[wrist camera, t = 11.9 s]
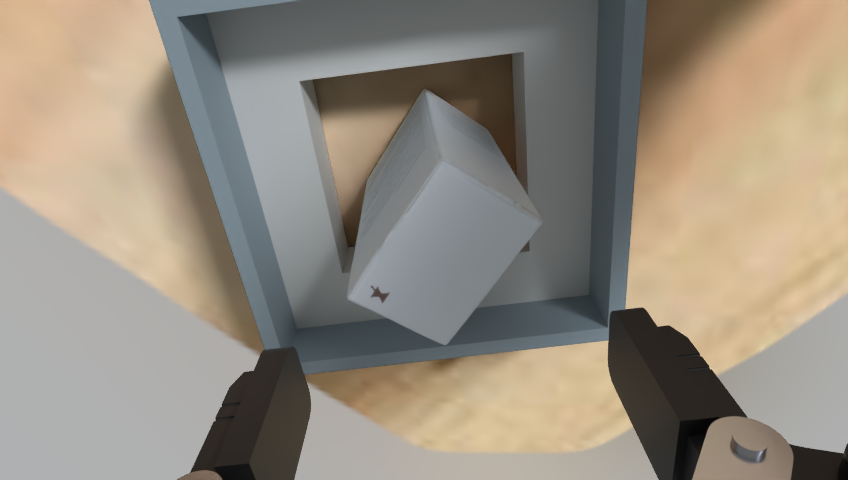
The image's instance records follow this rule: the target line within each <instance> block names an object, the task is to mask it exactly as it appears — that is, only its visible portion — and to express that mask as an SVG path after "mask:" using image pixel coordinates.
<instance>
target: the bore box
mask: <svg viewBox="0 0 848 480" xmlns="http://www.w3.org/2000/svg"><path fill="white" fill-rule="evenodd" d="M149 2H150V5H151V8H152V11H153V14H154V17H155V20H156V23H157V26H158V29H159V32H160V35H161V38H162V41H163V44H164V47H165V50H166V53H167V56H168V59H169V62H170V65H171V68H172V71H173V74H174V77H175V80H176V83H177V86H178V89H179V92H180V95H181V98H182V101H183V104H184V107H185V110H186V114H187V117H188V120H189V123H190V126H191V129H192V132H193V135H194V138H195V141H196V144H197V147H198V150H199V153H200V156H201V159H202V162H203V165H204V168H205V171H206V174H207V177H208V180H209V183H210V186H211V189H212V192H213V195H214V198H215V201H216V204H217V207H218V210H219V213H220V216H221V219H222V222H223V225H224V228H225V231H226V234H227V237H228V240H229V243H230V246H231V249H232V252H233V255H234V258H235V261H236V264H237V267H238V270H239V273H240V276H241V279H242V282H243V285H244V288H245V291H246V294H247V298H248V301H249V304H250V307H251V310H252V313H253V316H254V319H255V322H256V325H257V328H258V331H259V334H260V337H261V340H262V343H263V346H264V349H265V350H266V349H275V348H284V347H294V348H295V349H296V351H297V353H298V357H299V360H300V363H301V366H302V369H303V372H304V375H306V374H315V373H324V372H333V371H342V370H350V369H359V368H368V367H377V366H386V365H395V364H403V363H412V362H421V361H430V360H439V359H448V358H457V357H465V356H474V355H483V354H492V353H501V352H510V351H518V350H527V349H536V348H545V347H554V346H563V345H572V344H580V343H589V342H598V341H607V340H609V319H610V313H611V312H612V311H616V310H625V304H626V290H627V276H628V262H629V248H630V234H631V220H632V206H633V192H634V179H635V165H636V151H637V137H638V123H639V109H640V95H641V81H642V67H643V53H644V39H645V25H646V11H647V0H149ZM504 54H512V69H513V94H514V120H515V145H516V170H517V179H518V180H519V182H520V184H521V185H522V187H523V188H524V190H525V192H526V194H527V195H528V197H529V199H530V200H531V202H532V204H533V205H534V207H535V208H536V210H537V212H538V214H539V215H540V217H541V219H542V221H543V223H542V225H541V226H540V227H539V228H538V229H537V231H536V232H535V233H534V234H533V236H532V237H531V238H530V239H529V241H528V242H527V243H526V244H525V246H524V247H523V248H522V249H521V251H520V252H519V253H518V255H517V256H516V257H515V258H514V260H513V261H512V262H511V264H510V265H509V266H508V267H507V269H506V270H505V271H504V273H503V274H502V275H501V276H500V278H499V279H498V280H497V282H496V283H495V284H494V286H493V287H492V288H491V289H490V291H489V292H488V293H487V295H486V296H485V297H484V299H483V300H482V301H481V302H480V304H479V305H478V306H477V307H476V309H475V310H474V311H473V313H472V314H471V315H470V316H469V318H468V319H467V320H466V321H465V323H464V324H463V325H462V326H461V328H460V329H459V330H458V332H457V333H456V334H455V335H454V337H453V338H452V339H451V340H450V342H449V343H448V344H447V345H443V344H440V343H438V342H436V341H433V340H431V339H429V338H427V337H425V336H423V335H421V334H418V333H416V332H414V331H412V330H410V329H408V328H406V327H404V326H402V325H400V324H398V323H396V322H394V321H392V320H390V319H388V318H386V317H384V316H382V315H380V314H378V313H375V312H373V311H371V310H369V309H367V308H365V307H362V306H360V305H358V304H356V303H354V302H351V301H349V300H348V299H347V292H348V285H349V278H350V272H351V267H352V263H353V257H354V252H355V247H348V244H347V239H346V235H345V230H344V225H343V221H342V216H341V211H340V206H339V202H338V197H337V192H336V188H335V183H334V178H333V174H332V169H331V164H330V160H329V155H328V150H327V145H326V141H325V136H324V131H323V127H322V122H321V117H320V113H319V108H318V103H317V98H316V94H315V89H314V84H313V80H312V79H320V78H327V77H335V76H343V75H350V74H358V73H366V72H373V71H381V70H389V69H396V68H404V67H412V66H419V65H427V64H435V63H443V62H450V61H458V60H466V59H473V58H481V57H489V56H496V55H504Z"/></svg>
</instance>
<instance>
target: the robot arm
mask: <svg viewBox="0 0 848 480" xmlns="http://www.w3.org/2000/svg"><path fill="white" fill-rule="evenodd" d="M608 367H609V372H610V376H611V380H612V383H613V385H614V387H615V389H616V391H617V393H618V396H619V398H620V400H621V402H622V404H623V406H624V408H625V410H626V412H627V414H628V416H629V418H630V421H631V423H632V425H633V427H634V429H635V431H636V433H637V435H638V437H639V439H640V441H641V443H642V445H643V447H644V450H645V452H646V454H647V456H648V458H649V460H650V462H651V464H652V466H653V468H654V471H655V473H656V475H657V477H658V479H659V480H848V444H847V446H846V449H845V451H844V454H842V453H836V452H829V451H823V450H816V449H810V448H804V447H799V446H794V445H791V444H788V443H787V441H786V440H785V439H784V438H783V437H782V436H781V435H780V434H779V433H778V432H777V431H775V430H774V429H772V428H771V427H769V426H767V425H765V424H763V423H761V422H758V421H756V420H753V419H749V418H747V416H746V415H745V413H744V412H743V411H742V409H741V408H740V407H739V405H738V404H737V403H736V401H735V400H734V399H733V397H732V396H731V395H730V393H729V392H728V391H727V389H726V388H725V387H724V385H723V384H722V383H721V382H720V380H719V379H718V377H717V376H716V375H715V373H714V372H713V371H712V370H710V369H709V365H708V364H707V363H706V361H705V360H704V359H703V357H700V353H699V352H698V351H697V349H696V348H695V347H694V345H693V344H692V343H691V341H690V340H689V339H688V338H687V337H686V336H684V335H683V334H681V333H680V332H678V331H677V330H675V329H674V328H672V327H671V326H660V327H657V325H656V324H655V323H654V321H653V320H652V318H651V317H650V315H649V314H648V312H647V311H646V310H645V309H644V308H634V309H625V310H616V311H612V312H611V313H610V319H609V343H608ZM310 412H311V399H310V392H309V388H308V385H307V382H306V379H305V376H304V372H303V369H302V366H301V363H300V360H299V357H298V353H297V351H296V349H295V348H294V347H284V348H275V349H266V350H263V351H262V353H261V355H260V357H259V360H258V362H257V365H256V367H255V369H254V371H249V372H244V373H243V374H242V375H241V376H240V377H239V378H238V379H237V380H236V381H235V382H234V383H233V384H232V386H231V387H230V388H229V390H228V392H227V394H226V396H225V399H224V401H223V403H222V407H221V408H220V410H219V412H218V414H217V416H216V421H214V422H213V425H212V427H211V429H210V431H209V433H208V435H207V438H206V440H205V442H204V444H203V446H202V449H201V451H200V453H199V455H198V457H197V459H196V461H195V464H194V466H193V468H192V470H191V472H190V473H189V474H187V475H184V476H183V477H181V478H179V479H177V480H294V478H295V473H296V470H297V465H298V462H299V458H300V453H301V450H302V446H303V442H304V438H305V434H306V430H307V425H308V421H309V417H310Z"/></svg>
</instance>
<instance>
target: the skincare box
mask: <svg viewBox="0 0 848 480" xmlns="http://www.w3.org/2000/svg"><path fill="white" fill-rule="evenodd" d="M542 223H543V221H542V219H541V217H540V215H539V214H538V212H537V210H536V208H535V207H534V205H533V204H532V202H531V200H530V199H529V197H528V195H527V194H526V192H525V190H524V188H523V187H522V185H521V184H520V182H519V180H518V179H517V177H516V176H515V174H514V172H513V171H512V169H511V167H510V165H509V164H508V162H507V160H506V159H505V157H504V155H503V154H502V152H501V150H500V149H499V147H498V145H497V144H496V142H495V140H494V139H493V137H492V135H491V134H490V132H489V130H488V129H487V128H485V127H484V126H482V125H480V124H479V123H477V122H476V121H474V120H473V119H471V118H470V117H468V116H467V115H465V114H464V113H462V112H461V111H459V110H458V109H456V108H455V107H453V106H452V105H450V104H449V103H447V102H446V101H444V100H443V99H441V98H440V97H438V96H437V95H435V94H434V93H432V92H431V91H429V90H427V89H423V90H422V92H421V93H420V95H419V97H418V98H417V100H416V101H415V103H414V105H413V106H412V108H411V110H410V111H409V113H408V114H407V116H406V118H405V119H404V121H403V123H402V124H401V126H400V127H399V129H398V131H397V132H396V134H395V135H394V137H393V139H392V140H391V142H390V144H389V145H388V147H387V148H386V150H385V152H384V153H383V155H382V157H381V158H380V160H379V162H378V163H377V165H376V166H375V168H374V170H373V171H372V173H371V175H370V176H369V178H368V179H367V184H366V190H365V195H364V201H363V206H362V213H361V218H360V224H359V230H358V235H357V240H356V246H355V252H354V257H353V263H352V267H351V272H350V278H349V285H348V292H347V299H348V300H349V301H351V302H354V303H356V304H358V305H360V306H362V307H365V308H367V309H369V310H371V311H373V312H375V313H378V314H380V315H382V316H384V317H386V318H388V319H390V320H392V321H394V322H396V323H398V324H400V325H402V326H404V327H406V328H408V329H410V330H412V331H414V332H416V333H418V334H421V335H423V336H425V337H427V338H429V339H431V340H433V341H436V342H438V343H440V344H443V345H447V344H448V343H449V342H450V340H451V339H452V338H453V337H454V335H455V334H456V333H457V332H458V330H459V329H460V328H461V326H462V325H463V324H464V323H465V321H466V320H467V319H468V318H469V316H470V315H471V314H472V313H473V311H474V310H475V309H476V307H477V306H478V305H479V304H480V302H481V301H482V300H483V299H484V297H485V296H486V295H487V293H488V292H489V291H490V289H491V288H492V287H493V286H494V284H495V283H496V282H497V280H498V279H499V278H500V276H501V275H502V274H503V273H504V271H505V270H506V269H507V267H508V266H509V265H510V264H511V262H512V261H513V260H514V258H515V257H516V256H517V255H518V253H519V252H520V251H521V249H522V248H523V247H524V246H525V244H526V243H527V242H528V241H529V239H530V238H531V237H532V236H533V234H534V233H535V232H536V231H537V229H538V228H539V227H540V226H541V225H542Z"/></svg>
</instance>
